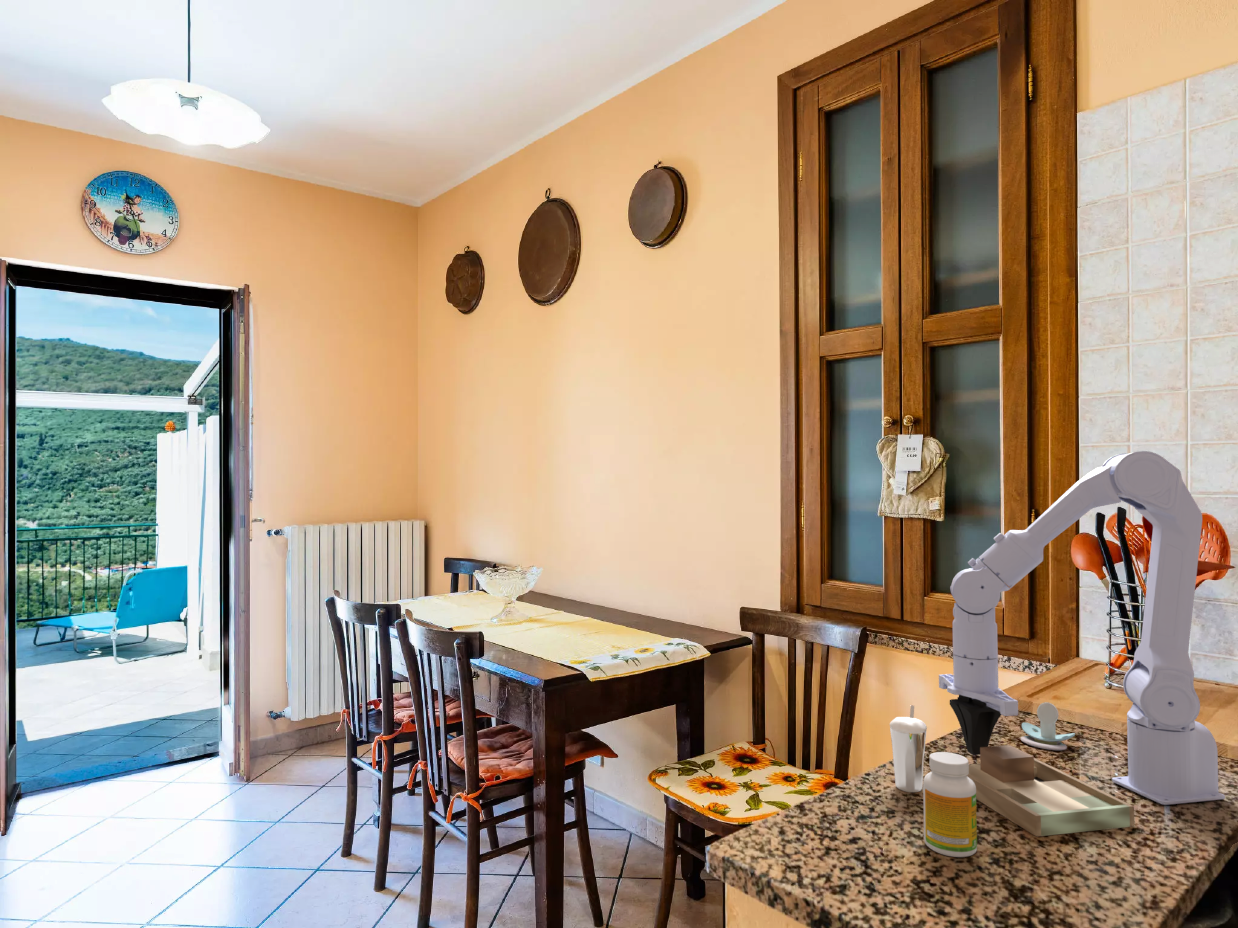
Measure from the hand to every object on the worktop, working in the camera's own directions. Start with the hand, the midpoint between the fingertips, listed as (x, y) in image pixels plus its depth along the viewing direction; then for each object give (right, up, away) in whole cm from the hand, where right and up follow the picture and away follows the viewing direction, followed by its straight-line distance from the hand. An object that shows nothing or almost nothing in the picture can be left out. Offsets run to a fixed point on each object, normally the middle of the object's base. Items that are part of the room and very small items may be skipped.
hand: (976, 752), depth 107 cm
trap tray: (+2, -2, -10) cm, 11 cm away
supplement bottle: (-14, -2, -23) cm, 27 cm away
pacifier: (+15, -3, +10) cm, 19 cm away
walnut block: (+1, -1, -6) cm, 6 cm away
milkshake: (-12, -2, -6) cm, 13 cm away
